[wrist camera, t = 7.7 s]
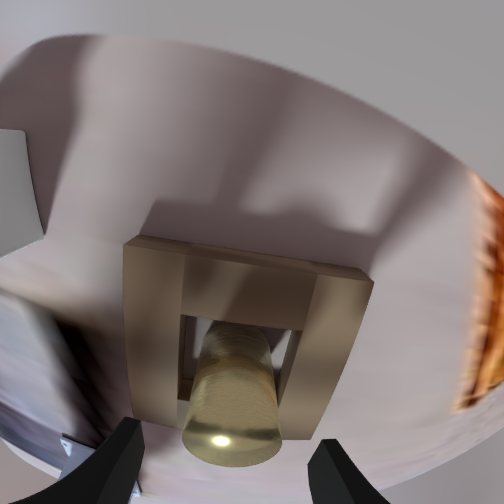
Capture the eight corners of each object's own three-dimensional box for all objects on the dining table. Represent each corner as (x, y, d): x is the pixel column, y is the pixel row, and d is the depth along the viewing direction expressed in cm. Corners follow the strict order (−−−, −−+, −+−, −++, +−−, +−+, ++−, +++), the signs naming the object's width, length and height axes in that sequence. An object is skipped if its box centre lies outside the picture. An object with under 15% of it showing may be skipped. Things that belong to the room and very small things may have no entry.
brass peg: (263, 378, 17) (271, 469, 10) (200, 370, 17) (183, 461, 10) (275, 325, 16) (292, 417, 9) (204, 316, 16) (181, 407, 9)
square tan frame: (305, 420, 18) (310, 439, 16) (141, 399, 17) (133, 418, 16) (360, 269, 15) (374, 282, 13) (138, 234, 14) (123, 244, 12)
